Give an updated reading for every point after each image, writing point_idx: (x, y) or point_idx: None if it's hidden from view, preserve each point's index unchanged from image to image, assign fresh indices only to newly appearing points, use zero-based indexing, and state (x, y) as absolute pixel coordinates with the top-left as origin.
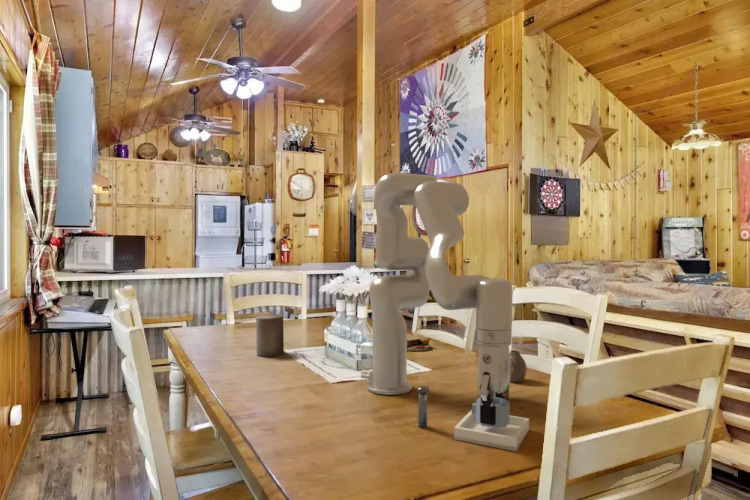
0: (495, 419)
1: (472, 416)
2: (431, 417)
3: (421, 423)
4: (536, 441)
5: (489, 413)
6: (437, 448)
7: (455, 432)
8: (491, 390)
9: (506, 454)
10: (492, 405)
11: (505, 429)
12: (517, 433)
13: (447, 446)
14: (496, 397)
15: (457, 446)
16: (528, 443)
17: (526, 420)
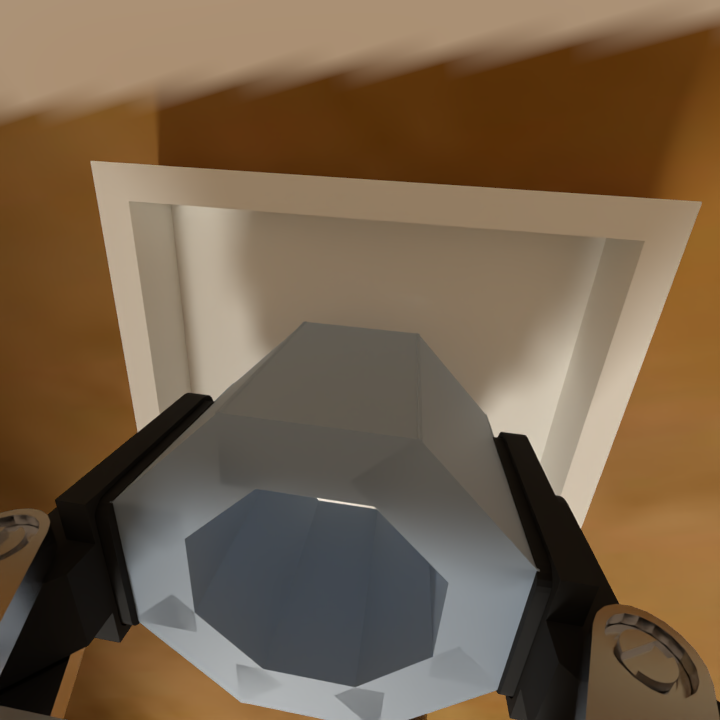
0: (523, 458)
1: None
2: None
3: (426, 716)
4: (364, 68)
5: (592, 563)
6: (674, 620)
7: None
8: (69, 690)
9: (704, 266)
10: (695, 656)
11: None
12: (538, 214)
13: (634, 585)
14: (136, 566)
15: (622, 545)
16: (432, 131)
17: (153, 180)
